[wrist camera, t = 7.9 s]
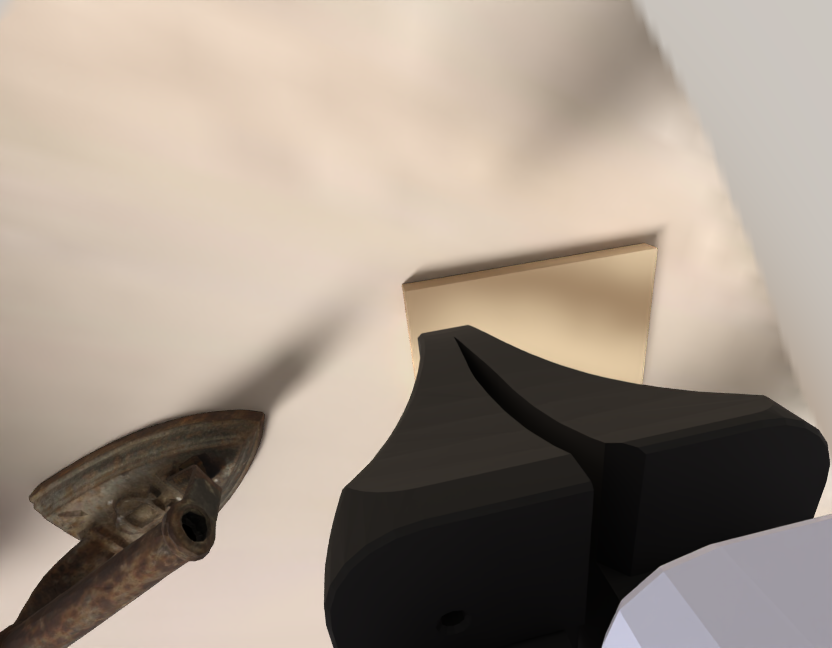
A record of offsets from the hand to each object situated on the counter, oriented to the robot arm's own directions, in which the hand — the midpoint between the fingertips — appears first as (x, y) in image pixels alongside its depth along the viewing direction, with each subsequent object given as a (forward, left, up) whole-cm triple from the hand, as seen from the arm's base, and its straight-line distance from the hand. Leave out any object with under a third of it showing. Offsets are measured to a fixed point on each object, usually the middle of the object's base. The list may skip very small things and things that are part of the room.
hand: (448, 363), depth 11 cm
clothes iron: (-9, +12, -10) cm, 18 cm away
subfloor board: (-10, -6, -9) cm, 15 cm away
